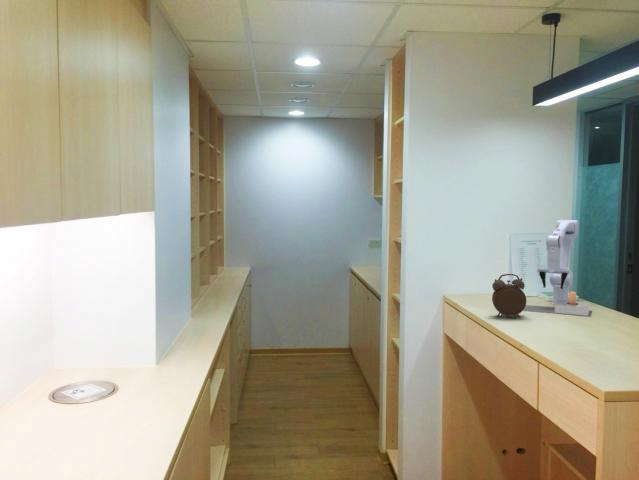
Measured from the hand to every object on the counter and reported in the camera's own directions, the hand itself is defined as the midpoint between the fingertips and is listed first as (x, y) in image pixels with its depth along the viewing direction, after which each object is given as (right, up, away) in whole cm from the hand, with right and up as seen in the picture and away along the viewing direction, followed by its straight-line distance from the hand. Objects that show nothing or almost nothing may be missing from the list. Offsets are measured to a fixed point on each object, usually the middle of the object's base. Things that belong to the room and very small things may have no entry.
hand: (553, 288), depth 256 cm
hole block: (+6, -11, -8) cm, 14 cm away
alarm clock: (-26, -12, -13) cm, 32 cm away
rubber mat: (0, -11, -4) cm, 12 cm away
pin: (+6, -11, -8) cm, 14 cm away
